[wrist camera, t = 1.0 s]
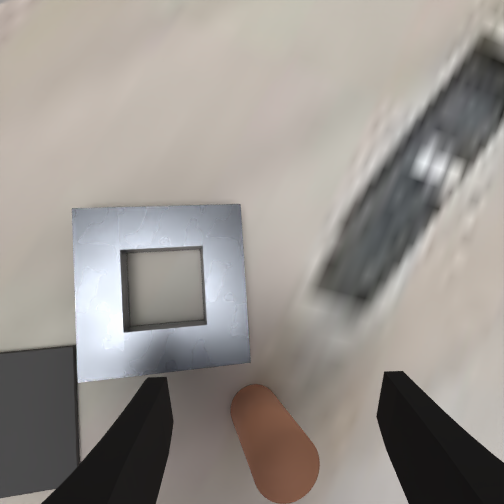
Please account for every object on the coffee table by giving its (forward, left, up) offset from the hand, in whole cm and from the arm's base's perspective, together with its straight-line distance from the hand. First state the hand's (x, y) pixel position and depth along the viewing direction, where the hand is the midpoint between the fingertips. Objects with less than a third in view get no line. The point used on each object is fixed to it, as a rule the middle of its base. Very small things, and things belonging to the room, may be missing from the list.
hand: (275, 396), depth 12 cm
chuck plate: (+4, +4, -11) cm, 12 cm away
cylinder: (-4, -1, -11) cm, 12 cm away
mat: (-3, +13, -11) cm, 17 cm away
